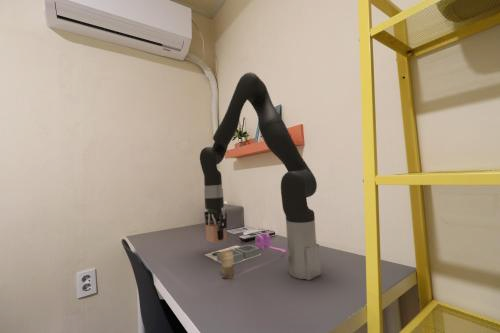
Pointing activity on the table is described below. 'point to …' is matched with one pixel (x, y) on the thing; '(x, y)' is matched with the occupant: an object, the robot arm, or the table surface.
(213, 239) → the orange cube
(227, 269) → the peg
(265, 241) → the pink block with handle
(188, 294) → the table surface
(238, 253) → the board
